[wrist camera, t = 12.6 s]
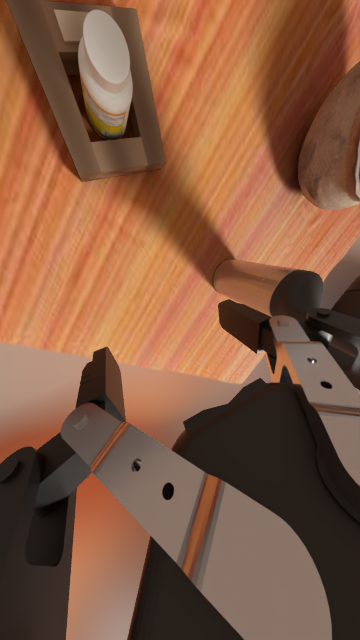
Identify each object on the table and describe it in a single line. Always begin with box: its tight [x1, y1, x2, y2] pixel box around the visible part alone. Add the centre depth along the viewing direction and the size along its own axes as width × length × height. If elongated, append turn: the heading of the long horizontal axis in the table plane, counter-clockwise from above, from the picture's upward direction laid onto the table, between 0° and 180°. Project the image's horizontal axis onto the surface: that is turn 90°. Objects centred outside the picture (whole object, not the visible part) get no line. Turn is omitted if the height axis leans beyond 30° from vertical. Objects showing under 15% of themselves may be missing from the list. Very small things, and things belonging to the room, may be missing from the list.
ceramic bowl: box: [298, 62, 360, 210], centre depth 32 cm, size 22×22×15 cm
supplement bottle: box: [78, 10, 133, 140], centre depth 18 cm, size 5×5×10 cm
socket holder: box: [6, 0, 166, 182], centre depth 21 cm, size 13×13×3 cm
